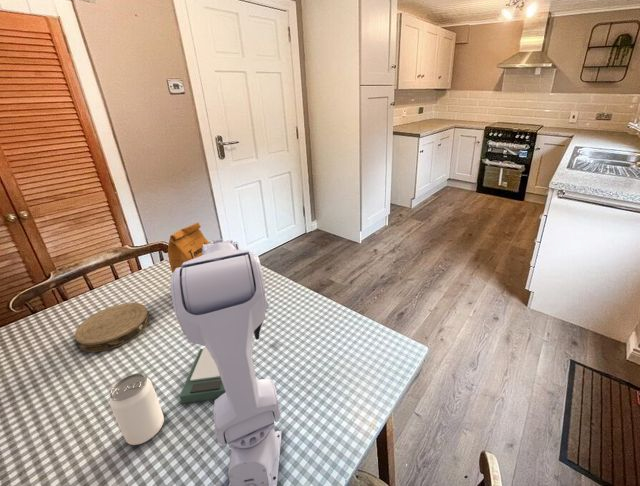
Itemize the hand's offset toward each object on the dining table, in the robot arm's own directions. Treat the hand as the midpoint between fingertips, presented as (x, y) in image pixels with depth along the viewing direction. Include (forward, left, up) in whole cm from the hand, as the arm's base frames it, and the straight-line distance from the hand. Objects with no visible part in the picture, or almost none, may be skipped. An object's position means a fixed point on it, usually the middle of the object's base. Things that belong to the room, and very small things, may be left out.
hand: (239, 343), depth 69 cm
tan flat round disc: (+21, +39, -10) cm, 46 cm away
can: (-10, +17, -10) cm, 22 cm away
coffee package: (+40, +23, -10) cm, 47 cm away
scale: (+1, +7, -10) cm, 12 cm away
